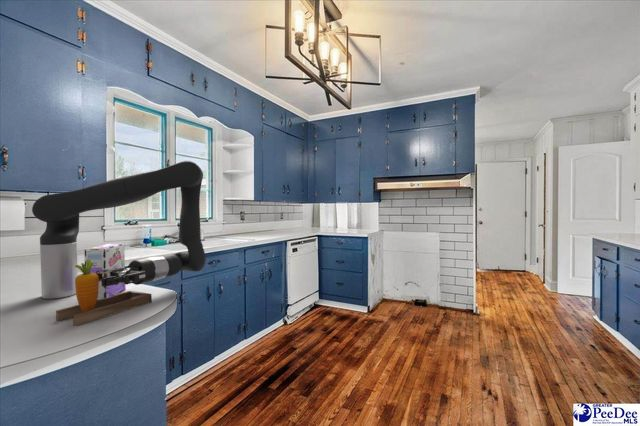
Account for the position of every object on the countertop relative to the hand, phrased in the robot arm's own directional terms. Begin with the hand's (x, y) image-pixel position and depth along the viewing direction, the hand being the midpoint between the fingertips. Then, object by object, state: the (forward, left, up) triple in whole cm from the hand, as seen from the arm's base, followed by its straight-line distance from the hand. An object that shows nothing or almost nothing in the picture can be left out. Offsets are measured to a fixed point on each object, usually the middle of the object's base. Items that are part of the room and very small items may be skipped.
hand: (92, 281), depth 82 cm
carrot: (0, -1, -9) cm, 9 cm away
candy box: (-16, +13, -9) cm, 22 cm away
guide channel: (0, +4, -9) cm, 10 cm away
